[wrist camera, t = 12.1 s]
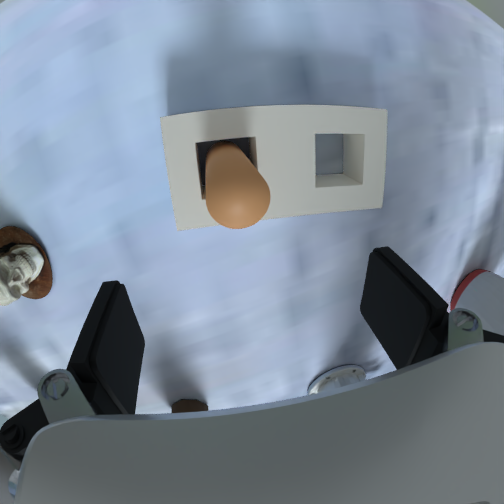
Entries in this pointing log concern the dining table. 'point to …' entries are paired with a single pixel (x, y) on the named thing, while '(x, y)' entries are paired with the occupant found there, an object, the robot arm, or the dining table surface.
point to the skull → (22, 267)
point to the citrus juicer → (483, 299)
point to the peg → (234, 187)
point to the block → (281, 157)
